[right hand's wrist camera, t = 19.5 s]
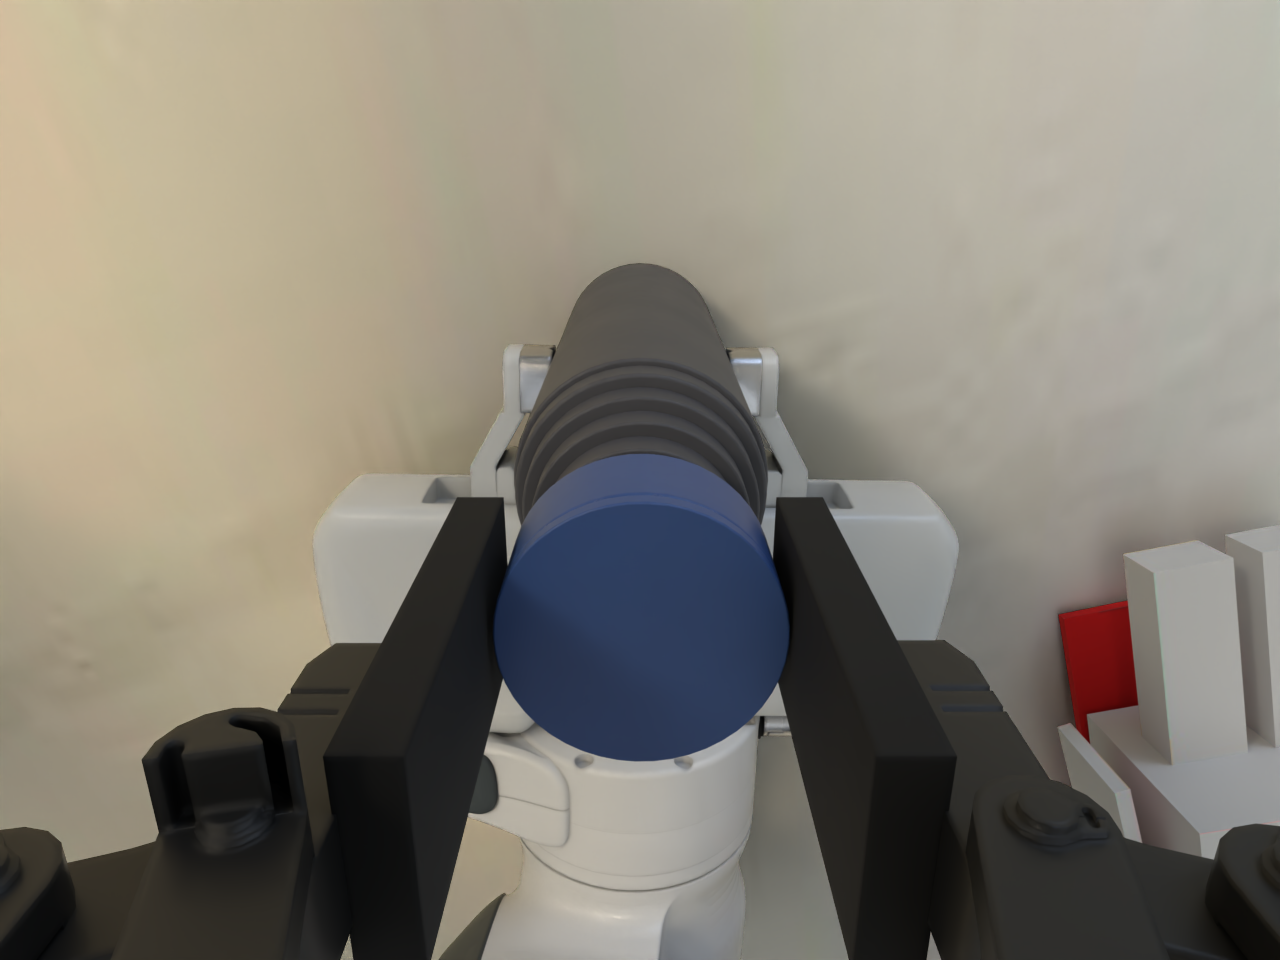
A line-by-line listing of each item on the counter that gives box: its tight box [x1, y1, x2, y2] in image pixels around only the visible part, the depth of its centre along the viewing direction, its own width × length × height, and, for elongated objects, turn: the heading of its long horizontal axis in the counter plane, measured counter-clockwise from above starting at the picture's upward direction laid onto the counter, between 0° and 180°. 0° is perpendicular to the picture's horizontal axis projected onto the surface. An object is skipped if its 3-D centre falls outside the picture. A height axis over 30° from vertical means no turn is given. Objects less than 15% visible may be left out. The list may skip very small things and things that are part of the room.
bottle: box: [514, 263, 768, 525], centre depth 23 cm, size 5×5×21 cm
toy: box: [1057, 525, 1280, 860], centre depth 36 cm, size 12×13×30 cm
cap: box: [493, 454, 790, 762], centre depth 14 cm, size 4×4×2 cm
